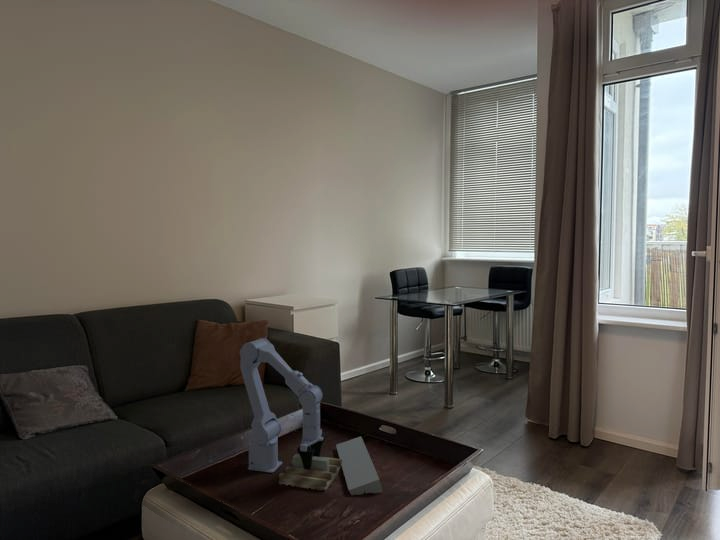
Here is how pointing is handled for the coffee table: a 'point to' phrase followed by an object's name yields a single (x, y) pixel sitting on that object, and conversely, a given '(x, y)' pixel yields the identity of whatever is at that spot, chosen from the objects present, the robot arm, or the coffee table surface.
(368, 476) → the grey rectangular block
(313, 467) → the clay strip
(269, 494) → the coffee table surface
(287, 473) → the ribbed tan slab
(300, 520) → the coffee table surface
